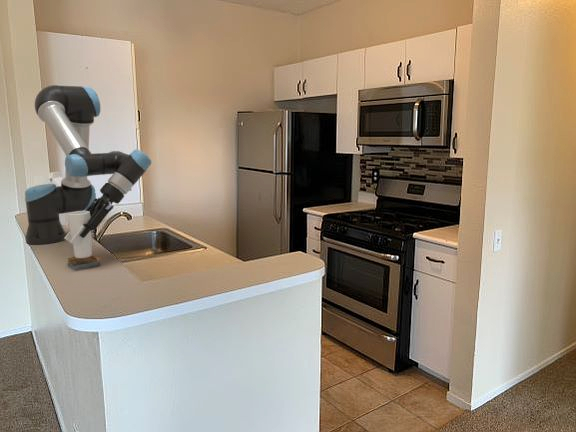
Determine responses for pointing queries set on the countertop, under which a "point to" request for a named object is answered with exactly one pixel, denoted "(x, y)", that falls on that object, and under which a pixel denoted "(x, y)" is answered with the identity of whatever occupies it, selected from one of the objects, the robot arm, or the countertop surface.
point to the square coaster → (83, 262)
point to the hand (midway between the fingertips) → (70, 242)
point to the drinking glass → (75, 225)
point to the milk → (56, 180)
